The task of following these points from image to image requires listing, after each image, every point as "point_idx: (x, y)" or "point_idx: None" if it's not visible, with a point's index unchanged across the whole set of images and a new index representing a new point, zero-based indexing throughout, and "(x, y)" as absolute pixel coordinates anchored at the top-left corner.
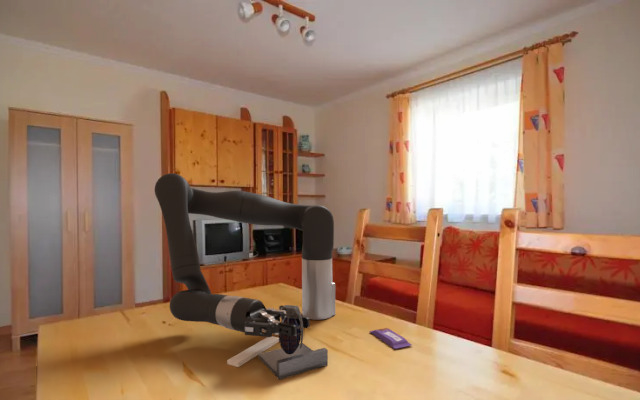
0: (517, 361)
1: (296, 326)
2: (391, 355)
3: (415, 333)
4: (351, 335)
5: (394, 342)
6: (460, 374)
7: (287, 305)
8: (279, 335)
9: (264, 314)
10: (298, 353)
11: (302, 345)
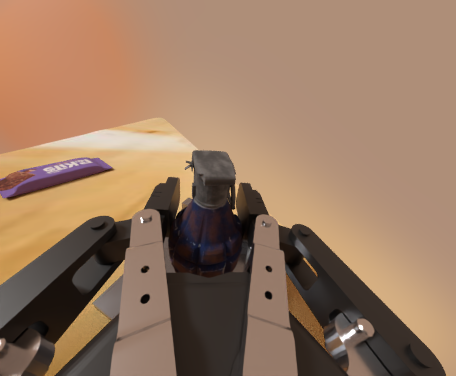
0: (130, 127)
1: (240, 183)
2: (131, 171)
3: (37, 157)
4: (15, 223)
5: (96, 164)
6: (163, 143)
7: (207, 169)
8: (238, 258)
9: (271, 317)
10: (174, 272)
11: (117, 290)
